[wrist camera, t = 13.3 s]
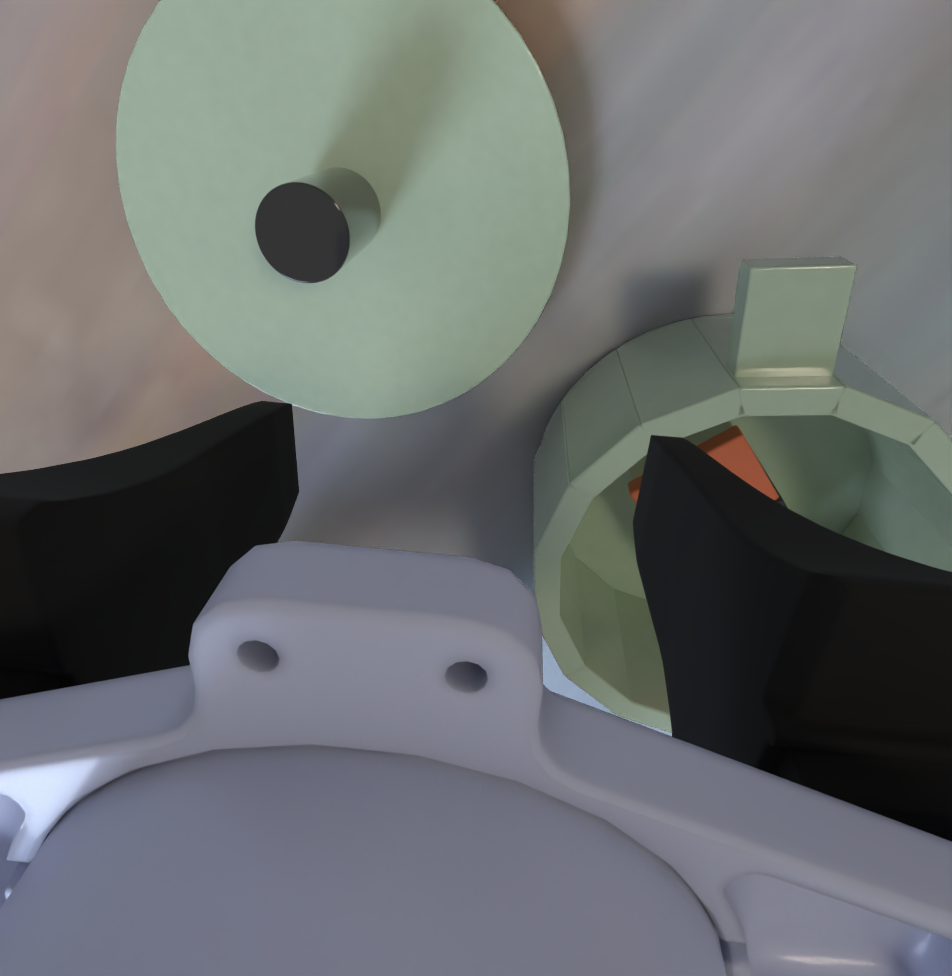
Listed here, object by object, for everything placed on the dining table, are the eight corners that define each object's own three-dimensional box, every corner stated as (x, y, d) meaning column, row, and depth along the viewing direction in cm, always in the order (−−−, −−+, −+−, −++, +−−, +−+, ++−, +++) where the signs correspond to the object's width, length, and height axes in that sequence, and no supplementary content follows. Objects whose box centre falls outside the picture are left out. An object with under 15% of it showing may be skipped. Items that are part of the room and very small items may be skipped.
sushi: (616, 446, 24) (628, 497, 21) (718, 390, 23) (746, 435, 20) (700, 572, 27) (722, 634, 24) (796, 527, 25) (833, 587, 22)
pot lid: (196, 409, 25) (125, 475, 21) (70, -53, 18) (-76, -100, 14) (564, 404, 24) (571, 473, 20) (575, -92, 17) (588, -157, 13)
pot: (534, 658, 30) (534, 784, 25) (532, 233, 21) (532, 281, 16) (828, 664, 29) (898, 797, 23) (959, 217, 20) (1120, 263, 15)
